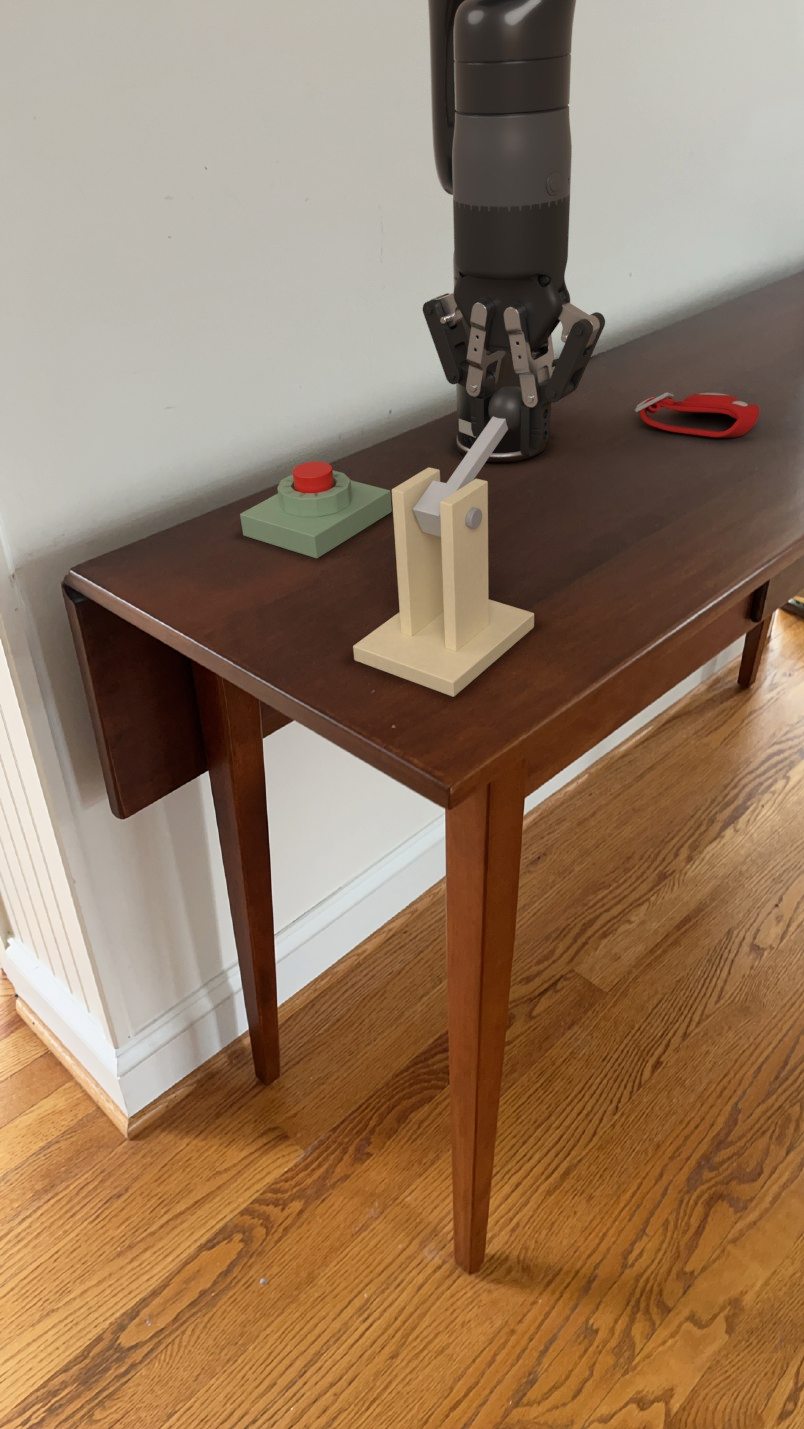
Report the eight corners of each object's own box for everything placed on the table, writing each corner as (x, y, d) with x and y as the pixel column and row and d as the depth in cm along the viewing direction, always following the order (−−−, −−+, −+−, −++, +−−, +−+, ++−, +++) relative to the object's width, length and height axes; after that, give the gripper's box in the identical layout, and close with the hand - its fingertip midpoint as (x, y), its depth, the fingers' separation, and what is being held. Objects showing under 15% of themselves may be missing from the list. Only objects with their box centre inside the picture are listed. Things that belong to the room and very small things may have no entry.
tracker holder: (712, 393, 114) (782, 395, 106) (707, 434, 115) (775, 439, 107) (627, 389, 109) (693, 390, 100) (623, 432, 110) (688, 437, 102)
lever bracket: (438, 597, 83) (432, 446, 76) (534, 627, 78) (538, 469, 71) (353, 660, 76) (337, 501, 69) (453, 697, 72) (448, 531, 64)
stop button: (312, 476, 95) (310, 458, 94) (342, 484, 93) (340, 466, 92) (286, 490, 93) (284, 472, 92) (316, 498, 91) (314, 480, 90)
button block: (319, 492, 101) (315, 453, 99) (392, 511, 97) (389, 472, 94) (242, 535, 94) (236, 495, 92) (317, 559, 90) (312, 517, 87)
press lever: (506, 406, 77) (497, 373, 74) (544, 413, 75) (535, 379, 72) (418, 534, 72) (404, 503, 70) (455, 544, 71) (443, 513, 68)
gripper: (638, 185, 64) (619, 448, 75) (453, 174, 72) (459, 415, 82) (580, 208, 60) (568, 485, 70) (388, 194, 67) (403, 447, 77)
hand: (509, 446), depth 76 cm, fingers closed on press lever, 3 cm apart
